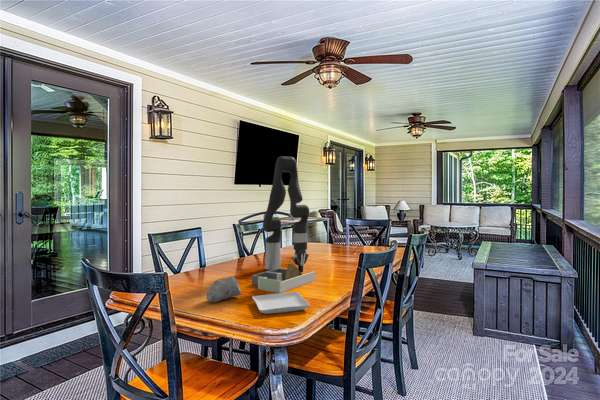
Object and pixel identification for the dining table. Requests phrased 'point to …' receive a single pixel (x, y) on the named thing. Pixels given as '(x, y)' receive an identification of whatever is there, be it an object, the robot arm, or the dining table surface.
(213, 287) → the gray stone
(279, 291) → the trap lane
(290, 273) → the rock
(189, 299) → the dining table surface
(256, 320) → the dining table surface
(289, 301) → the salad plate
